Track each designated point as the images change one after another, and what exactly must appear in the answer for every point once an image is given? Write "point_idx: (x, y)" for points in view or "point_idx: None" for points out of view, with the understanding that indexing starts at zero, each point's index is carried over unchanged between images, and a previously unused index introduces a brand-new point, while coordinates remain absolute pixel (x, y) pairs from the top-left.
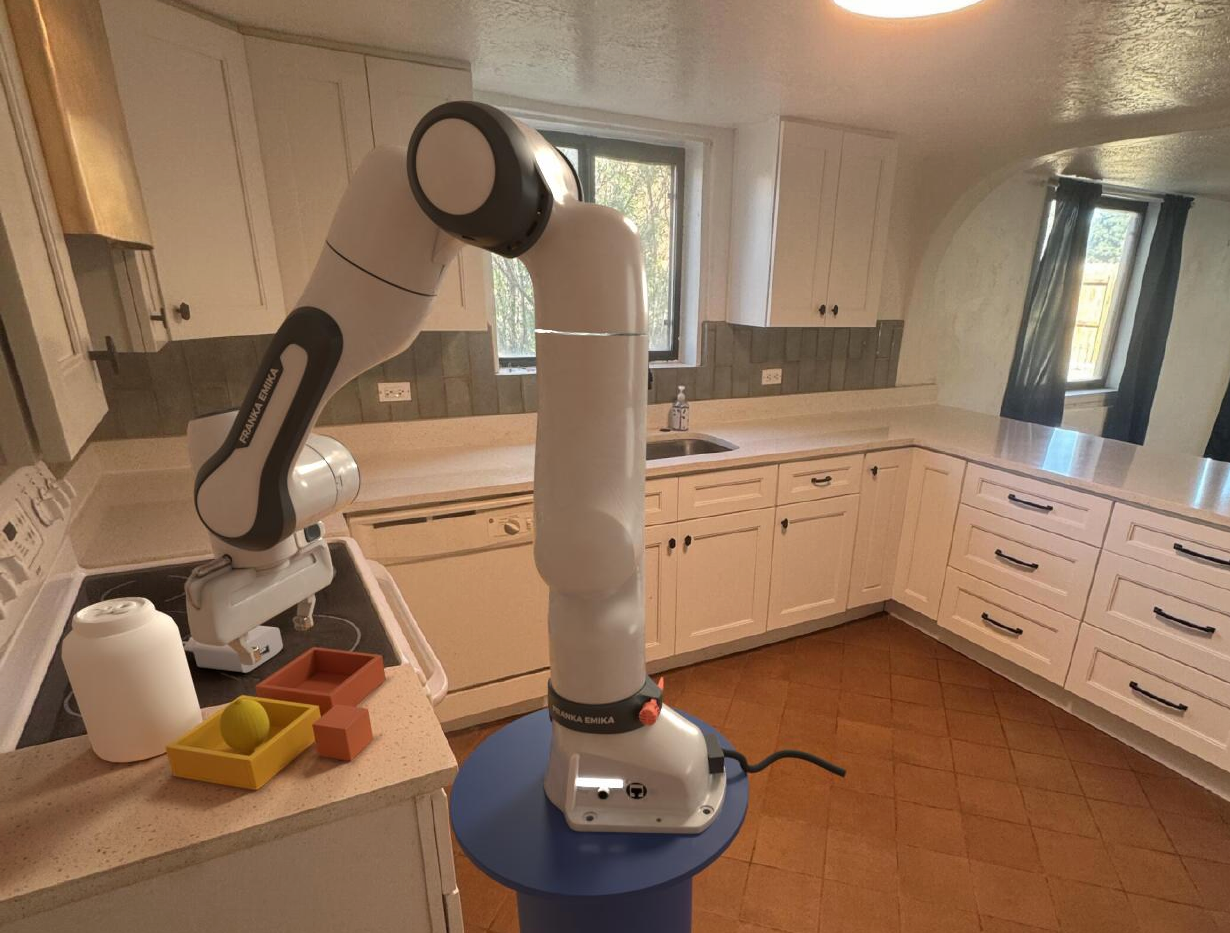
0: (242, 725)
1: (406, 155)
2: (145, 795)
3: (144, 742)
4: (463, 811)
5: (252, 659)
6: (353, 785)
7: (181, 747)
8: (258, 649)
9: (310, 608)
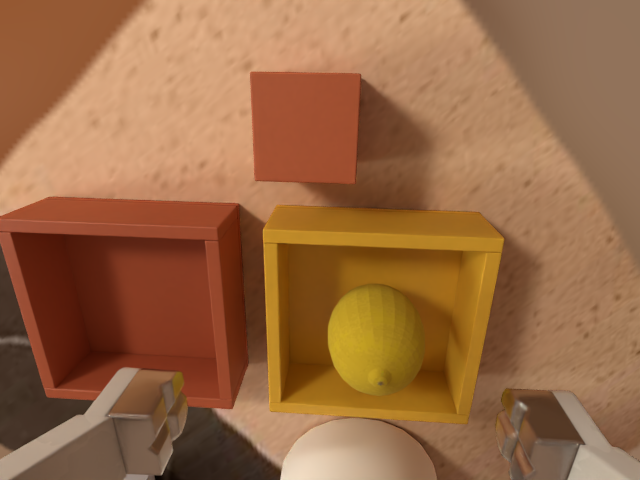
0: (415, 327)
1: None
2: (503, 381)
3: (421, 465)
4: None
5: (582, 408)
6: (443, 6)
7: (467, 397)
8: (537, 432)
9: (57, 449)
